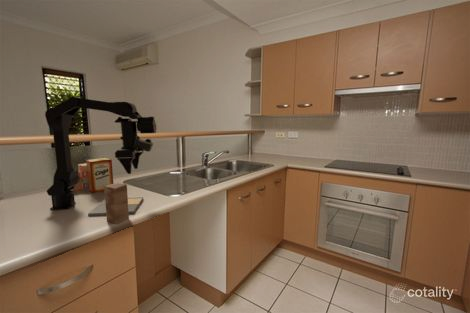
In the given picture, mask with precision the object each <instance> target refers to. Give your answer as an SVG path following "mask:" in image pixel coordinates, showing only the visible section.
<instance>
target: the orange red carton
mask: <svg viewBox="0 0 470 313" xmlns="http://www.w3.org/2000/svg"><path fill="white" fill-rule="evenodd" d="M77 170H79V174H78V175H79V178H80V179H78V183H77V184H76V185H75V186H74V189H72V190H70V191H72V192H74V191H75V190H76V191H80V190H81V191H82V190H86V189H89V186H88V175H87V164H86V162H84V163H79V164H77Z"/></svg>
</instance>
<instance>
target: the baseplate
mask: <svg viewBox="0 0 470 313" xmlns="http://www.w3.org/2000/svg"><path fill="white" fill-rule="evenodd" d="M143 200H144V197H128V212H129V215H132V214H133V215H134V214H135V213H136V211H137V210H138V208H139V206H140V205H141V204H142V202H143ZM87 216H88V217H94V216H95V217H96V216H98V217H99V216H106V203H105V198H104V199H103V200H102V201H100V203H99V204H97V205H96V206H95V207H94V208H93V209H91V210H90V211H89V212H88V214H87Z"/></svg>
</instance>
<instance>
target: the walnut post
mask: <svg viewBox="0 0 470 313" xmlns="http://www.w3.org/2000/svg"><path fill="white" fill-rule="evenodd" d="M103 192H104V199H105V203H106V215H105V216H106V223H110V224H114V225H119V224H122V223H123V222H125V221H127V220H129V218H130V216H129V215H130V214H129V212H128V198H129V196H128V185H127V184H125V183H119V182H115V183H114V182H113V184H111V185H107V186H104V191H103Z"/></svg>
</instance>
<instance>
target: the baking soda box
mask: <svg viewBox="0 0 470 313" xmlns="http://www.w3.org/2000/svg"><path fill="white" fill-rule="evenodd" d="M85 163H86V164H87V175H88V186H89V188H88V191H89V192H90V193H92V194H97V193H102V192H105V191H104V186H107V185H111V184H114V176H113V175H114V173H113V160H112V159H110V158H108V157H102V158H95V159H94V158H93V159H92V158H91V159H86V160H85Z"/></svg>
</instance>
